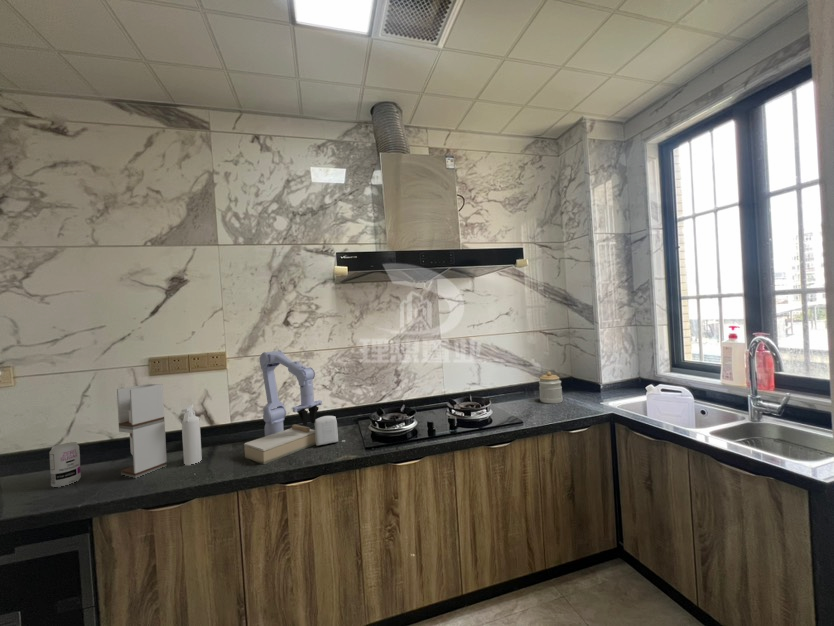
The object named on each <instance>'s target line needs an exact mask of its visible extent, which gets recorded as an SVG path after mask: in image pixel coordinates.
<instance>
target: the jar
mask: <svg viewBox="0 0 834 626" xmlns="http://www.w3.org/2000/svg"><path fill="white" fill-rule="evenodd" d="M539 379H540V380H538V383H539V387H538V390H539V401H540V402H541V403H544V404H560V403H562V402H563V401H564V398H563V389H562V388H563V387H562V380H561V379H560V377H559V376H558V375H557V374H552V372H551V371H548V372H546V374H543V375H541V376H540V377H539Z"/></svg>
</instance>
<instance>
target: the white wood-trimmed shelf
mask: <svg viewBox="0 0 834 626" xmlns="http://www.w3.org/2000/svg"><path fill="white" fill-rule="evenodd" d="M116 396H117V397H116V398H117V401H116V402H117V418H118V421H117V422H118V432H121V433H125V434H127V433H128V434H129V445H130V454H131V455H132V457H133V458H132V459H133V460H132V461H133V462H132V463H133V465H131V466H130V467H127V468H124V469H121V470H120V475H121V476H122V475H125V476H124V477H126V476H129V477H128V478H130V477H133V478H132V479H134V478H136V479H138V478H137V477H139V478H141V477H140V476H142V475H144V476H146V475H145V474H147V473H150V472H152V471H155V470H157V469H160V468H162V467H165V466H167V467H168V463H167V461H168V460H167V446H166V445H167V444H166V443H167V442H166V441H167V440H166V428H165V427H166V425H165V424H166V422H165V407H164V404H165V403H164V387H163V383H146V384H141V385H134V386H133V385H132V386H128V387H123V388H122V387H121V388H117V389H116ZM165 468H166V467H165ZM160 470H161V469H160ZM157 471H158V470H157ZM155 472H156V471H155ZM152 473H153V472H152ZM150 474H151V473H150ZM147 475H148V474H147ZM142 477H143V476H142Z"/></svg>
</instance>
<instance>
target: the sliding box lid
mask: <svg viewBox="0 0 834 626" xmlns="http://www.w3.org/2000/svg"><path fill="white" fill-rule="evenodd" d="M313 433H315V429H311V427H309V426H304V425H299V424H292V426H291V427H290V428H288V429H284V431H281V432H278V433H275V434H271V435H268V436H265V435H264V436H262V437H259V438H256V439H253V440H250V441H247V442H245V443H244V444H243V445H244V446H249V447H252V448H255V449H258V450H261V451H266V450H269V449H272V448H274V447H277V446H280V445H283V444H285V443H288V442H291V441H294V440H297V439H299V438H302V437H305V436H308V435H311V434H313Z"/></svg>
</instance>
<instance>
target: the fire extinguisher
mask: <svg viewBox="0 0 834 626" xmlns="http://www.w3.org/2000/svg"><path fill="white" fill-rule="evenodd" d="M194 408H195V407H194V404H193V403H189V404H186V405H185V407H183V408H182V409H181V413H184V415H183V419H182V421H181V433H182V434H181V436H182V437H181V438H182V450H183V451H182V454H183V465H184V464H185V465H184V466H192V465H191V464H194V465H196V464H195V463H197V464H199V463H201V462H202V461H203V458H202V456H203V453H202V440H201V439H202V436H201V422H200V418H199V416H196V411H195V410H194ZM201 460H202V461H201ZM200 461H201V462H200ZM198 462H199V463H198Z"/></svg>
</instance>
